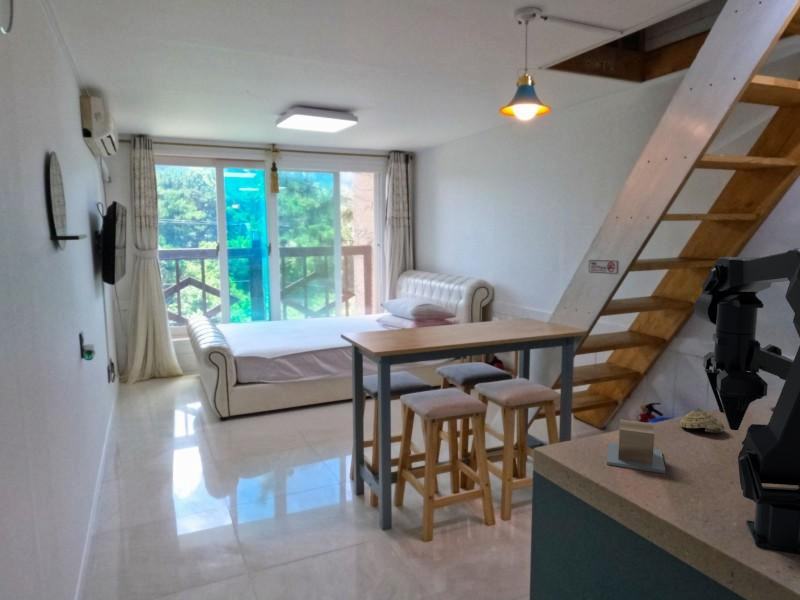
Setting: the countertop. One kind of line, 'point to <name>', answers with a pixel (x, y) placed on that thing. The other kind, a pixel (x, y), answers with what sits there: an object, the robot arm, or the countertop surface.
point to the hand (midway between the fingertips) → (728, 420)
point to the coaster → (655, 467)
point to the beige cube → (636, 441)
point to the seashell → (702, 421)
